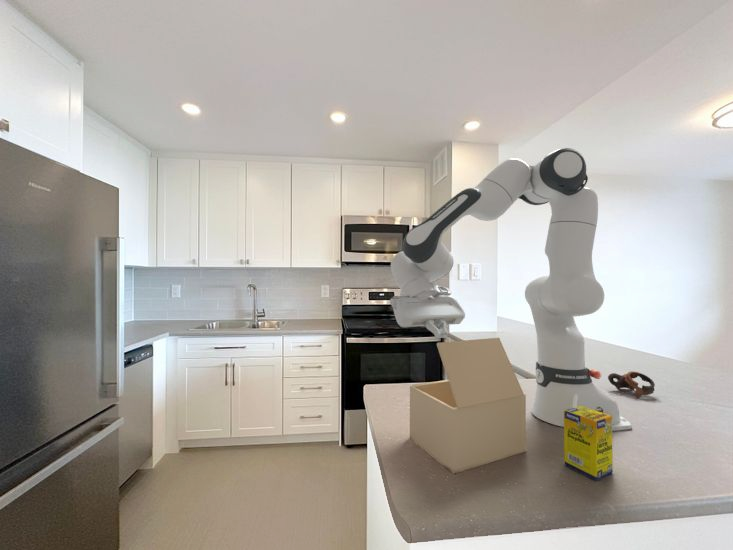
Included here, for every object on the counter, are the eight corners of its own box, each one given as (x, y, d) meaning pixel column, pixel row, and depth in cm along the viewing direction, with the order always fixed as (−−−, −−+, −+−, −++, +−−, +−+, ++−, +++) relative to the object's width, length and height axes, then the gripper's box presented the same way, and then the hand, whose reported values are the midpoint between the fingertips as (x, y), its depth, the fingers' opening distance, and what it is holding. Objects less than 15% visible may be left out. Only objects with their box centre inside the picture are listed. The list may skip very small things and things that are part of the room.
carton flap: (497, 338, 73) (499, 337, 72) (522, 395, 66) (524, 394, 66) (436, 343, 65) (437, 342, 65) (457, 408, 59) (459, 408, 58)
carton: (473, 422, 80) (473, 375, 81) (526, 451, 66) (525, 394, 67) (408, 437, 72) (408, 385, 72) (453, 474, 58) (453, 409, 58)
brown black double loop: (642, 391, 108) (654, 374, 104) (649, 412, 100) (661, 394, 96) (602, 378, 112) (611, 361, 109) (605, 396, 105) (615, 379, 101)
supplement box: (597, 482, 56) (596, 421, 56) (563, 465, 61) (562, 409, 62) (614, 473, 59) (612, 415, 59) (580, 457, 64) (579, 404, 64)
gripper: (392, 288, 80) (412, 330, 71) (453, 288, 89) (479, 326, 79) (383, 304, 84) (402, 346, 75) (443, 303, 92) (467, 341, 83)
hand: (442, 336), depth 77 cm, fingers closed
